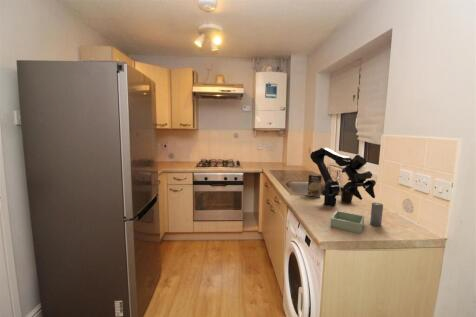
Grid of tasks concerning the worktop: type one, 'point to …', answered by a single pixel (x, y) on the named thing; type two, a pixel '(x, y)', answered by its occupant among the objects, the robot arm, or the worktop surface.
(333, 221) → the sage bin
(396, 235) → the worktop surface
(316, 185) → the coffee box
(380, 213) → the ball
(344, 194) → the coffee mug
